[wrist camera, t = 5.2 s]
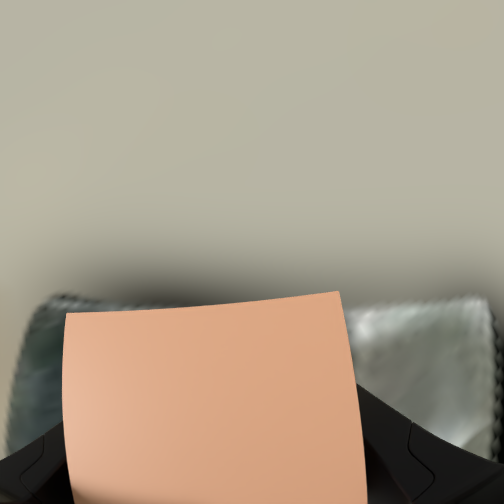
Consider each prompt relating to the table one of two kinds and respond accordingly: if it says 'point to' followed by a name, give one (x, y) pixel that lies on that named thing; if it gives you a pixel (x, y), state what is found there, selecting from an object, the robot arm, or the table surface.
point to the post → (213, 405)
